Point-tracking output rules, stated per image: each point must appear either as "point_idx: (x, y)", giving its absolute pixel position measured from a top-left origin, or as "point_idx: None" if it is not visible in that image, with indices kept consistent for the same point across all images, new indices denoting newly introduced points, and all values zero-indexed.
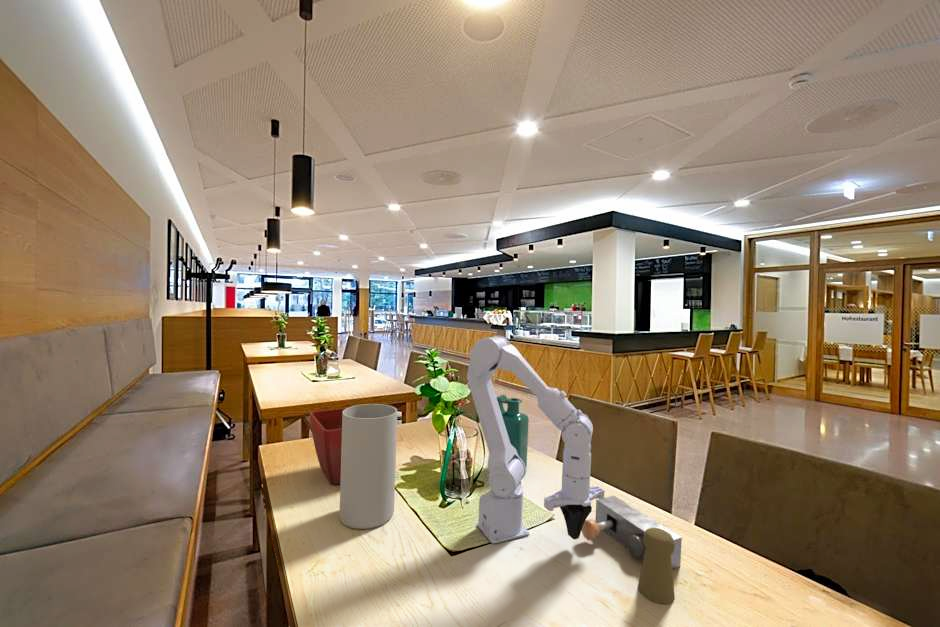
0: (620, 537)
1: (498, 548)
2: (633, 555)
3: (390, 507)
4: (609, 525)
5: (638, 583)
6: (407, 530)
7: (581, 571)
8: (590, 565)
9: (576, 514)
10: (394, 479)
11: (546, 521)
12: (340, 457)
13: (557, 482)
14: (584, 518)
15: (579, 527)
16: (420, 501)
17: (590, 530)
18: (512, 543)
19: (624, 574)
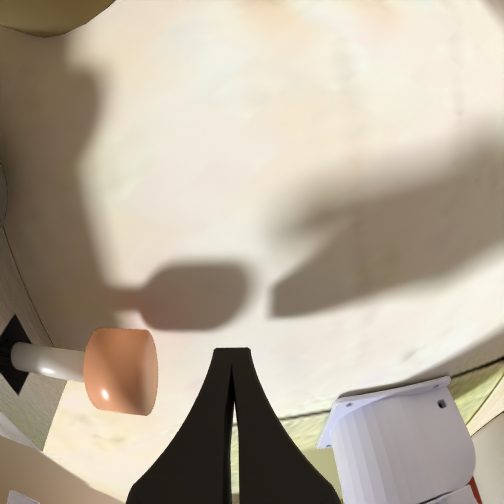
0: (8, 291)
1: (451, 361)
2: (2, 171)
3: (499, 436)
4: (26, 351)
5: (103, 3)
6: (497, 404)
7: (320, 182)
8: (239, 201)
9: (308, 497)
10: (501, 475)
11: None
12: (477, 490)
13: (110, 470)
14: (190, 447)
15: (225, 399)
16: None
17: (135, 365)
18: (408, 374)
19: (110, 87)
